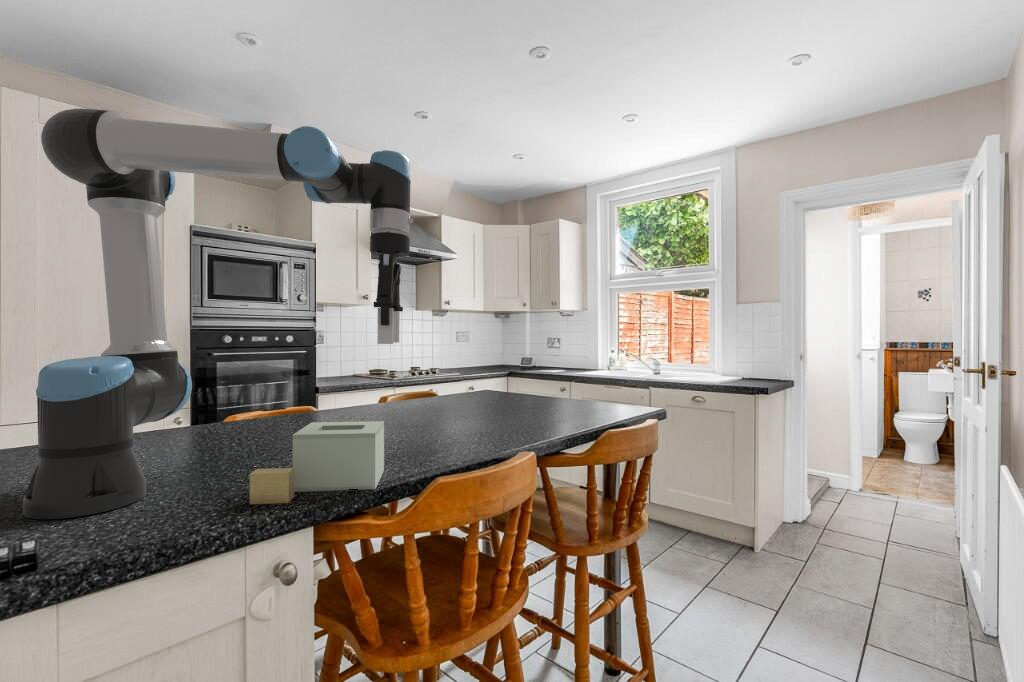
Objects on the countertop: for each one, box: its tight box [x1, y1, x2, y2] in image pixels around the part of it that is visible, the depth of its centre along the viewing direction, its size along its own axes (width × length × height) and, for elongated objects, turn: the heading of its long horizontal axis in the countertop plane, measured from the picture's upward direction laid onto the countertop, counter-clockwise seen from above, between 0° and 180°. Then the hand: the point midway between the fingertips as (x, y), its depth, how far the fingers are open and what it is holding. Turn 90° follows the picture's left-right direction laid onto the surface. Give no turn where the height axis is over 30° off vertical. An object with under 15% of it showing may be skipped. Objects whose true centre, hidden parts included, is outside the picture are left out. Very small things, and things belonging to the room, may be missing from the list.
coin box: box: [292, 420, 385, 493], centre depth 93 cm, size 14×12×10 cm
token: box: [249, 467, 295, 505], centre depth 82 cm, size 6×3×5 cm, turn 97°
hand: (389, 343), depth 97 cm, fingers open, 13 cm apart
